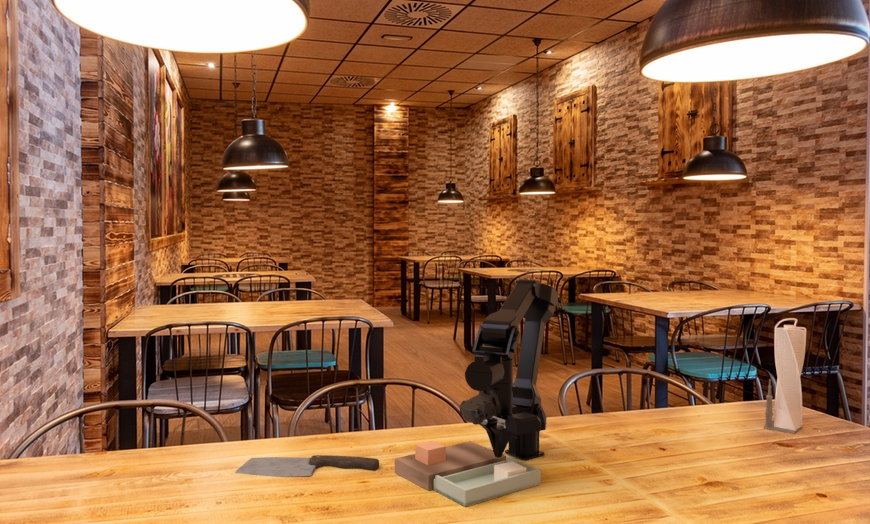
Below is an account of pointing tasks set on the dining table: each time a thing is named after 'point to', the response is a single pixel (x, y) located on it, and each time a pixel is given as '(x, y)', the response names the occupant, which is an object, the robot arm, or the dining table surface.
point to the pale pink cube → (507, 470)
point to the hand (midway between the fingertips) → (498, 457)
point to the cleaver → (303, 465)
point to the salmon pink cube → (430, 452)
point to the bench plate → (445, 463)
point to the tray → (485, 483)
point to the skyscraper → (787, 379)
